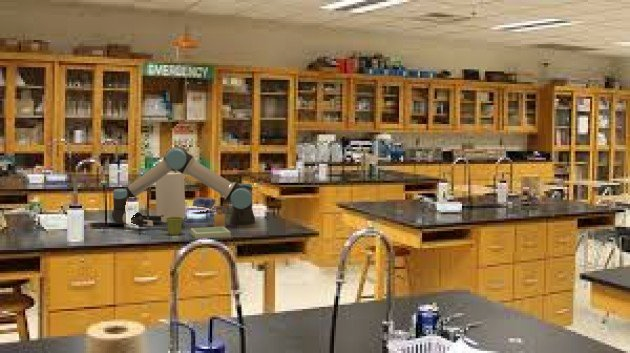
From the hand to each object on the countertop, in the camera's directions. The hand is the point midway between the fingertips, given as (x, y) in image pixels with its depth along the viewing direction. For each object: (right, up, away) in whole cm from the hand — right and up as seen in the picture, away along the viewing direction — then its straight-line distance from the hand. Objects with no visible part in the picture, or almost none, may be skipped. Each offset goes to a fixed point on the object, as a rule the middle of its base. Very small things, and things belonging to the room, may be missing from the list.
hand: (161, 221), depth 373 cm
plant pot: (+8, -7, -4) cm, 11 cm away
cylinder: (-5, -2, +48) cm, 49 cm away
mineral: (+12, +1, +73) cm, 74 cm away
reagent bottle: (+30, -5, +8) cm, 32 cm away
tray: (+28, -7, -9) cm, 30 cm away
